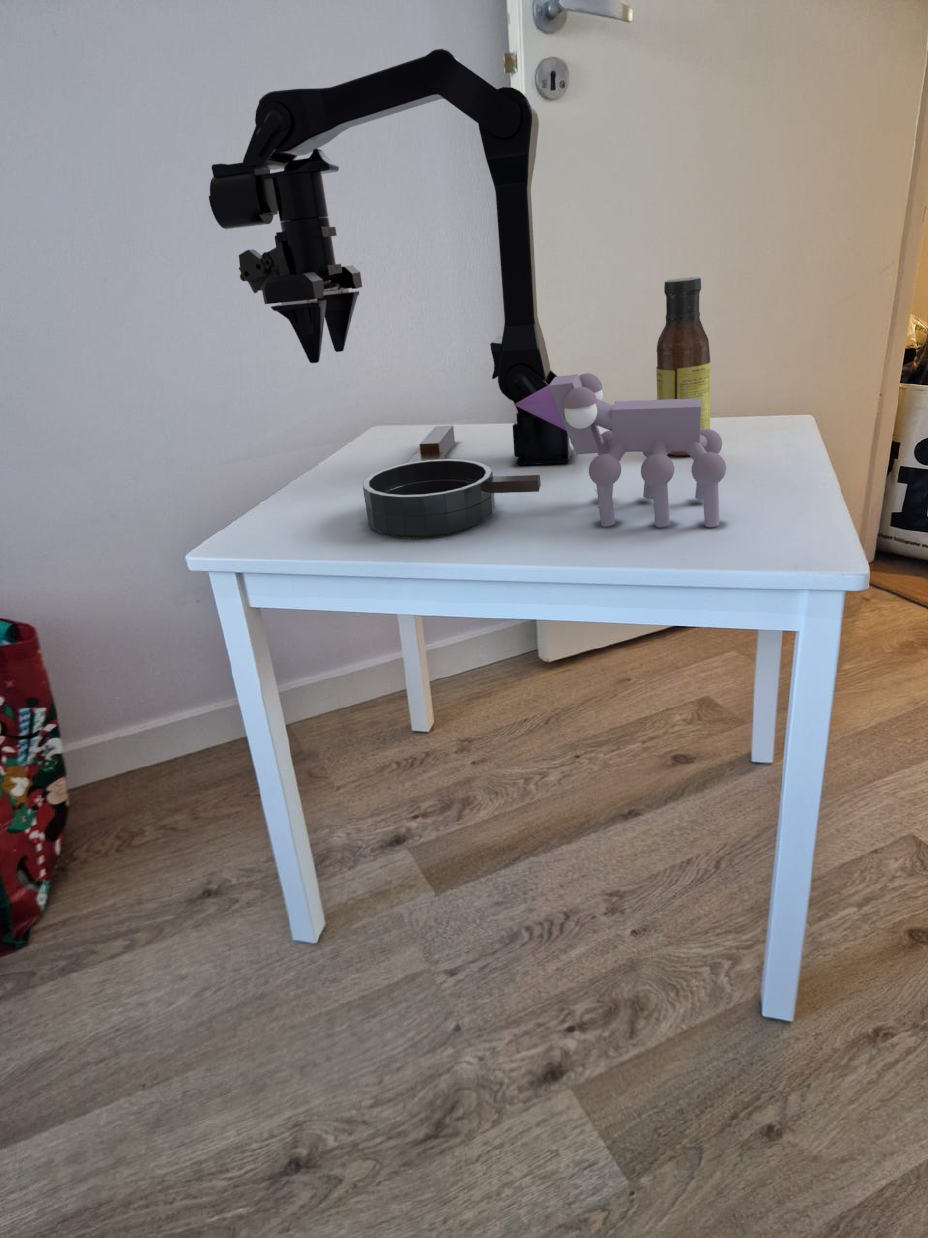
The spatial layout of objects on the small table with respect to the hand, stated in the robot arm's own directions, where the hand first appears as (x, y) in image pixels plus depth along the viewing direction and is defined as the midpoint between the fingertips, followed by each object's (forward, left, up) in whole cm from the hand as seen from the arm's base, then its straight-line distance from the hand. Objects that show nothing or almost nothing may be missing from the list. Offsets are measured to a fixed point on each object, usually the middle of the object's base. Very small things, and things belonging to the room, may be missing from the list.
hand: (327, 356), depth 100 cm
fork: (-12, -1, -14) cm, 19 cm away
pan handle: (-26, +22, -11) cm, 36 cm away
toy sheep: (-36, +22, -14) cm, 45 cm away
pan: (-17, +22, -14) cm, 31 cm away
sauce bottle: (-44, -1, -14) cm, 46 cm away
